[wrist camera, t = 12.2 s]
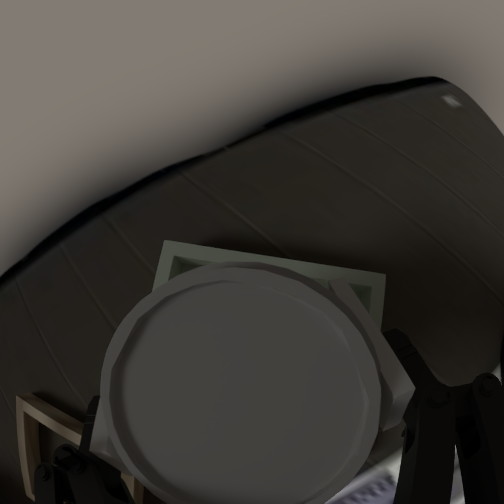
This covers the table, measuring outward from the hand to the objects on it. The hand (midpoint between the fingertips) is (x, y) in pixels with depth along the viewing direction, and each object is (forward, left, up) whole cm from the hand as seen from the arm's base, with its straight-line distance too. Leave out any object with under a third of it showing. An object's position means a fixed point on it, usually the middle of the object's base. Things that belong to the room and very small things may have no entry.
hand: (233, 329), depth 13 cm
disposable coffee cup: (-2, +2, -6) cm, 7 cm away
